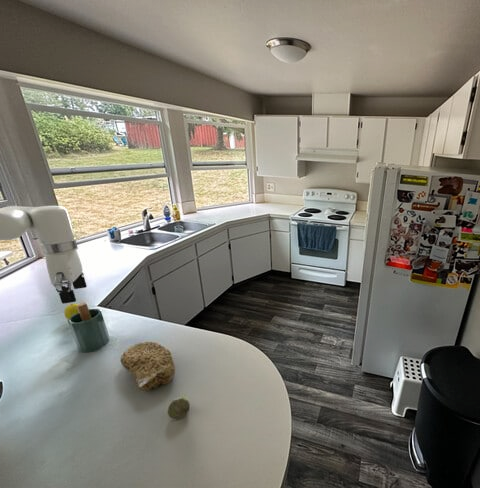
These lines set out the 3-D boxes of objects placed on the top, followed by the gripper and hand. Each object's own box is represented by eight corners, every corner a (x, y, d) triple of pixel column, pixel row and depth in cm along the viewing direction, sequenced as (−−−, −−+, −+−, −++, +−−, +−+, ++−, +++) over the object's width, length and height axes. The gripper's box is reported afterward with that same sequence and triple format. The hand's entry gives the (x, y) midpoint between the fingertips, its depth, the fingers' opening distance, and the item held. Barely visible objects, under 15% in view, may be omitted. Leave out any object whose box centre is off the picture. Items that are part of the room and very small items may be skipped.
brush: (85, 347, 87) (71, 308, 82) (89, 340, 90) (76, 302, 85) (100, 344, 89) (87, 306, 83) (103, 337, 92) (91, 300, 87)
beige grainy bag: (182, 380, 78) (167, 336, 91) (173, 367, 74) (159, 322, 86) (132, 409, 71) (124, 357, 84) (120, 397, 67) (113, 344, 79)
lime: (193, 409, 68) (190, 396, 67) (177, 425, 64) (173, 412, 63) (182, 402, 70) (179, 389, 68) (165, 418, 66) (162, 404, 64)
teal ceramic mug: (74, 355, 84) (63, 326, 80) (83, 339, 91) (73, 312, 87) (106, 347, 88) (96, 319, 84) (112, 333, 95) (103, 306, 91)
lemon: (64, 324, 99) (57, 307, 96) (79, 315, 104) (73, 299, 101) (75, 326, 98) (69, 308, 95) (90, 317, 103) (84, 301, 101)
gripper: (55, 239, 82) (70, 285, 88) (27, 258, 68) (47, 311, 74) (85, 237, 86) (97, 281, 91) (64, 254, 71) (80, 306, 77)
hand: (75, 294), depth 82 cm, fingers open, 9 cm apart
